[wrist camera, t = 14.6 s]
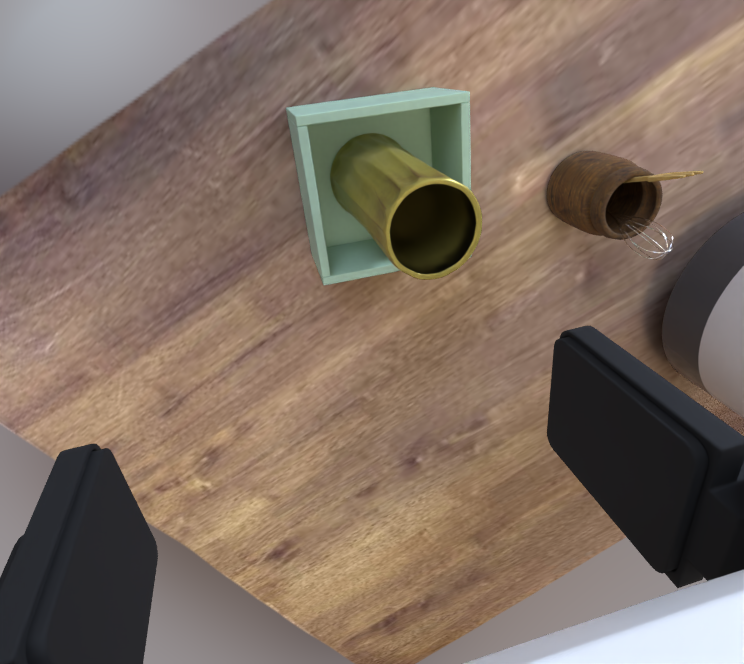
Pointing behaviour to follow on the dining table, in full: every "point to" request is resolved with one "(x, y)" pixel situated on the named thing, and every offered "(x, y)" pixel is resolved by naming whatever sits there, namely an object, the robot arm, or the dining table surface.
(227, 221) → the dining table surface
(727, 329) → the planter
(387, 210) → the vase
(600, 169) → the utensil holder
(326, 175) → the bin
